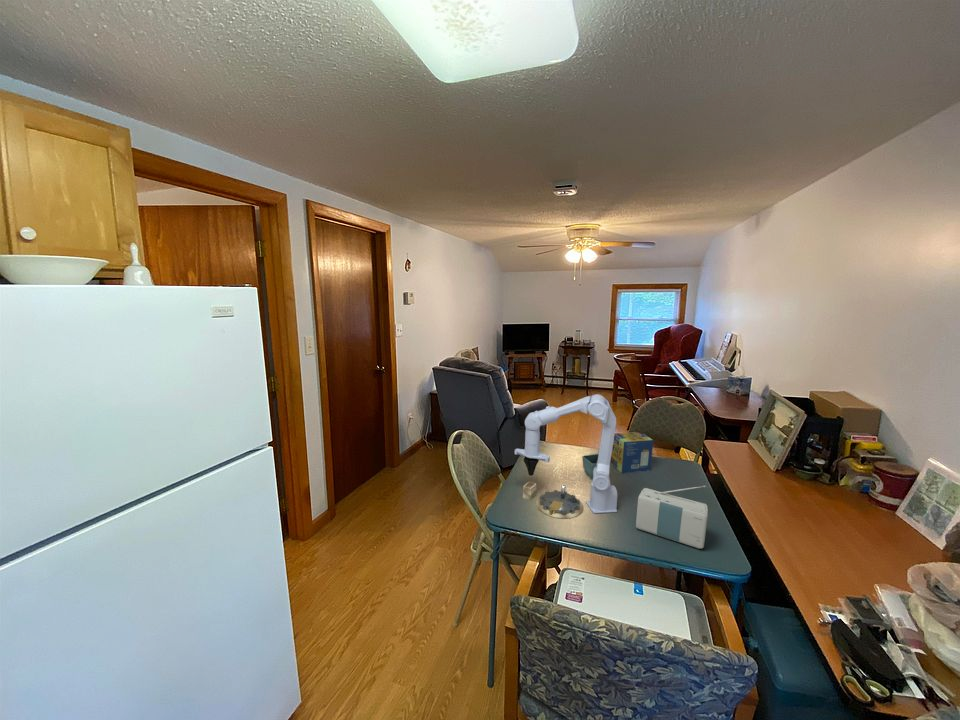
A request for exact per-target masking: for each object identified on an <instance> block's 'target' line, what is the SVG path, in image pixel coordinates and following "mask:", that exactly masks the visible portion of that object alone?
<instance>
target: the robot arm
mask: <svg viewBox="0 0 960 720" xmlns="http://www.w3.org/2000/svg"><path fill="white" fill-rule="evenodd" d="M576 412H581V413H583V414H586V415H588V413H589V415H590V416H592V417H593V418H595V419H597V420H598V421H600V423H602V429H601V435H600V442H599V449H598V453H597V454H598V460H597V465H596V467H595V468H594V470H593V480H592V481H591V482H590V495H589V500H586V501H585V503H586V505H587V506H588V508H589V509H590V510H591V512H592V513H593V514H607V513H608V514H609V513H618V509H617V506H618V504H617V503H618V490H617V488H616V486H615V485H614V484H611V479H610V476H611V475H610V473H611V472H610V466H611V464H610V460H611V454H612V447H613V441H614V435H615V433H616V428H617V416H616V414H615V413H614V411H613V409H612V407H611V405H610V402H609V401H608V400H607V398H605V397H604V396H603V395H602V394H599V393H598V394H592V395H588V396H585V397H582V398H580V399H577V400H574V401H572V402H570V403H567V404H564V405H562V406H560V407H555V406H550V405H548V406H546V407H545V408H543V409H541V410H535V411H533V412H529V413H528V414H527V416H526V417H525V419H524V426H525V433H524V437H525V438H524V441H525V442H524V449H523V448H515V449H514V455H519V456H523V457H524V458H523V462H524V464H525V466H526V469H527V473H528V476H531V477H532V476H534V474H535V470H536V468H537V465H538V463H539V462H540V461H542V462H545V463H546V464H548V463H549V462H550V459H551V457H550V456H549V455H546V454H544V453H542V452H540V442H541V441H540V439H541V432H540V431H541V430H540V428H541V427H542V426H545V425H548V424H552V423H554V422H557V421H559V419H560V417H563V416H566V415H571V414H574V413H576Z"/></svg>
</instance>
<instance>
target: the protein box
mask: <svg viewBox="0 0 960 720" xmlns="http://www.w3.org/2000/svg"><path fill="white" fill-rule="evenodd" d="M653 447H654V439H652V438H651V437H649V436H648V435H646V434H645V433H643V432H641V431H634V432H633V431H632V432H620V433H619V432H618V433H617V432H615V435H614V441H613V447H612V454H611V460H610V466H613V468H615V469H616V470H617V471H618V472H619V473H620V474H625V473H627V472H629V473H637V472H636V471H641V472H648V471H647V470H650V471H651V470H652V469H651V468H652V457H653V449H654V448H653Z"/></svg>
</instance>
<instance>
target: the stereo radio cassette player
mask: <svg viewBox="0 0 960 720" xmlns="http://www.w3.org/2000/svg"><path fill="white" fill-rule="evenodd" d="M698 488H699V489H700V488H706V485H702V486H694V487H686V488H680V489H679V488H678V489H674V490H667V491H658V490H655V489H651V488H647V487H644V488H643V489H642V490H641V491H640V493H639V495H638V497H637V507H636V517H635V518H636V521H635V527H636V529H638V530H640V531H644V532H646V533H650V534H653V535H654V536H655V535H656V536H658V537H659V536H660V537H662V538H665V539H668V540H672V541H675V542H677V543H681V544H684V545H687V546H690V547H693V548H696V549H704V548H705V542H706V540H705V539H706V531H707V525H708V524H707V523H708V516H709V513H708V505H707V504H706V503H705V502H700V501H696V500H692V499H690V498H689V499H688V498H684V497H682V496H681V497H680V496H677V495H673V494H670V493H674V492H680V491H681V492H682V491H686V490H693V489H698Z"/></svg>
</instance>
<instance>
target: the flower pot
mask: <svg viewBox="0 0 960 720" xmlns="http://www.w3.org/2000/svg"><path fill="white" fill-rule="evenodd" d="M598 454H599V453H594V454H585V455H582V456H581V457H582V466H583V470H584V472H585V474H586V476H588V477H589V479H591V480H592V481H593V470H594V468H595V467H596V465H597V460H598Z"/></svg>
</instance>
